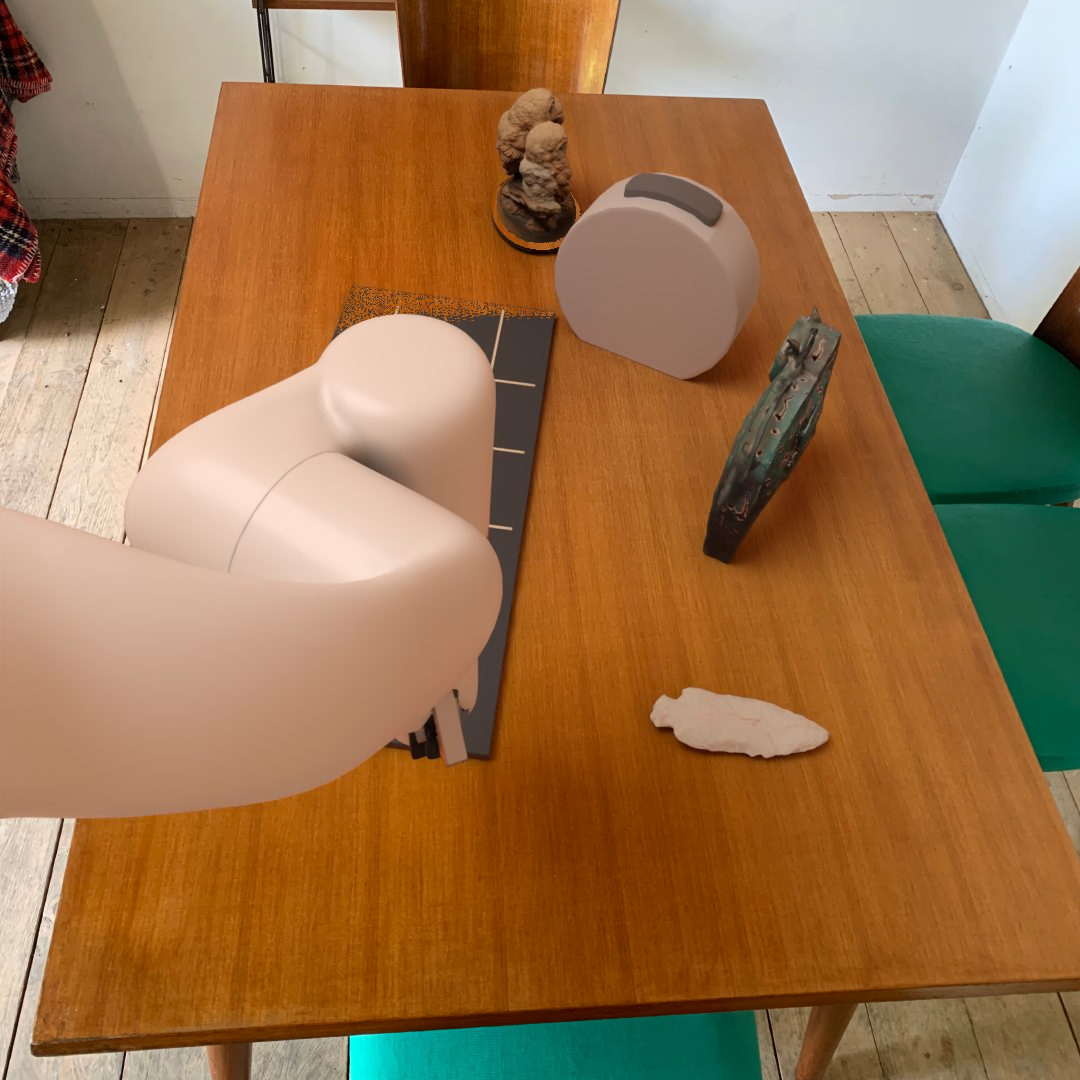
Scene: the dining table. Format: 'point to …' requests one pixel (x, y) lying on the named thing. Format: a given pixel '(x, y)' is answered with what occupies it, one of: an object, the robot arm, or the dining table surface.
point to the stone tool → (736, 724)
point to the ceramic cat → (773, 433)
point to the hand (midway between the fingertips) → (422, 709)
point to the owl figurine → (535, 171)
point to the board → (498, 470)
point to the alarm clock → (659, 274)
